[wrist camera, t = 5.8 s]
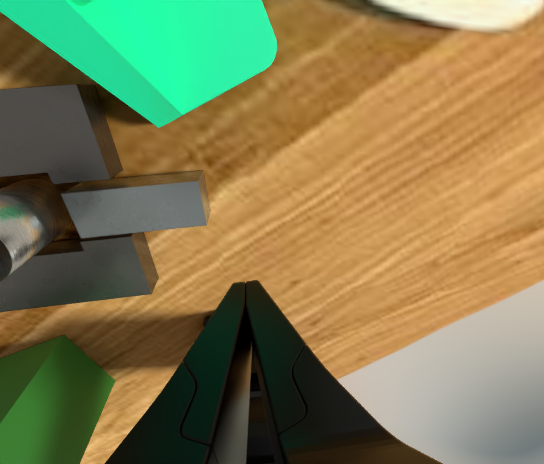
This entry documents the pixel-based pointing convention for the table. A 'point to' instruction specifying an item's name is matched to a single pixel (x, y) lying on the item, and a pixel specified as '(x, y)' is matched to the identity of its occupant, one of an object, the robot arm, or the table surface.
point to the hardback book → (49, 403)
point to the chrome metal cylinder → (29, 221)
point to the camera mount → (155, 46)
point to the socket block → (64, 169)
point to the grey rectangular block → (138, 204)
